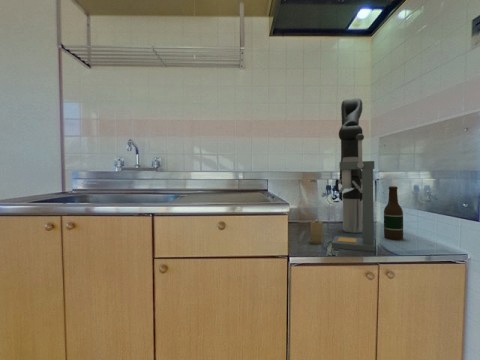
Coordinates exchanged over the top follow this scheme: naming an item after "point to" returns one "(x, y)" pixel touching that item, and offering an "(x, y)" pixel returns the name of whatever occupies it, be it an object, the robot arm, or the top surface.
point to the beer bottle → (393, 217)
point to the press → (367, 203)
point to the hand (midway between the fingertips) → (350, 200)
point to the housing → (316, 232)
